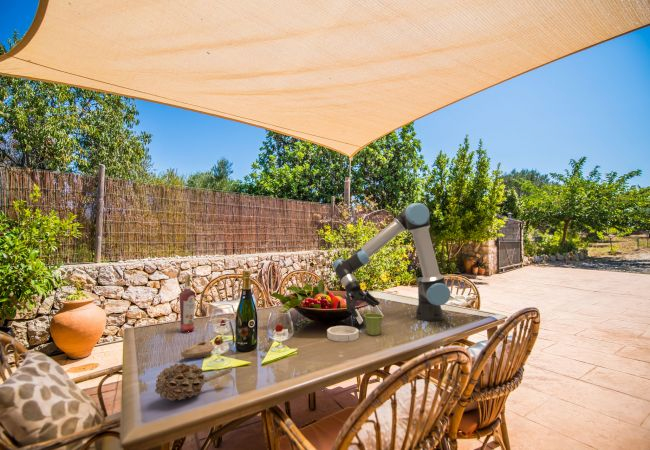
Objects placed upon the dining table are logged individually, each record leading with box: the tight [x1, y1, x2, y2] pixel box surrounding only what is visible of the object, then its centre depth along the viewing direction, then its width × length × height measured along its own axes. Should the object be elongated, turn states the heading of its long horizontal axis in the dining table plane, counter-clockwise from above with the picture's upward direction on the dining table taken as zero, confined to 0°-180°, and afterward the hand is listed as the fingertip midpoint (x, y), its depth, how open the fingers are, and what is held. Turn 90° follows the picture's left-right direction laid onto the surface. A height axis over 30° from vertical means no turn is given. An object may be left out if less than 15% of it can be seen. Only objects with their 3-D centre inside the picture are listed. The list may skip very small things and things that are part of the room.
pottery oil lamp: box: [180, 340, 215, 359], centre depth 123 cm, size 9×12×7 cm
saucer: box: [326, 325, 360, 343], centre depth 146 cm, size 14×14×3 cm
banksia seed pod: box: [154, 362, 235, 402], centre depth 93 cm, size 22×10×10 cm, turn 128°
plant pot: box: [363, 312, 384, 336], centre depth 151 cm, size 9×9×9 cm
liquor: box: [179, 274, 196, 333], centre depth 158 cm, size 7×7×28 cm
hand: (371, 320), depth 151 cm, fingers open, 13 cm apart
